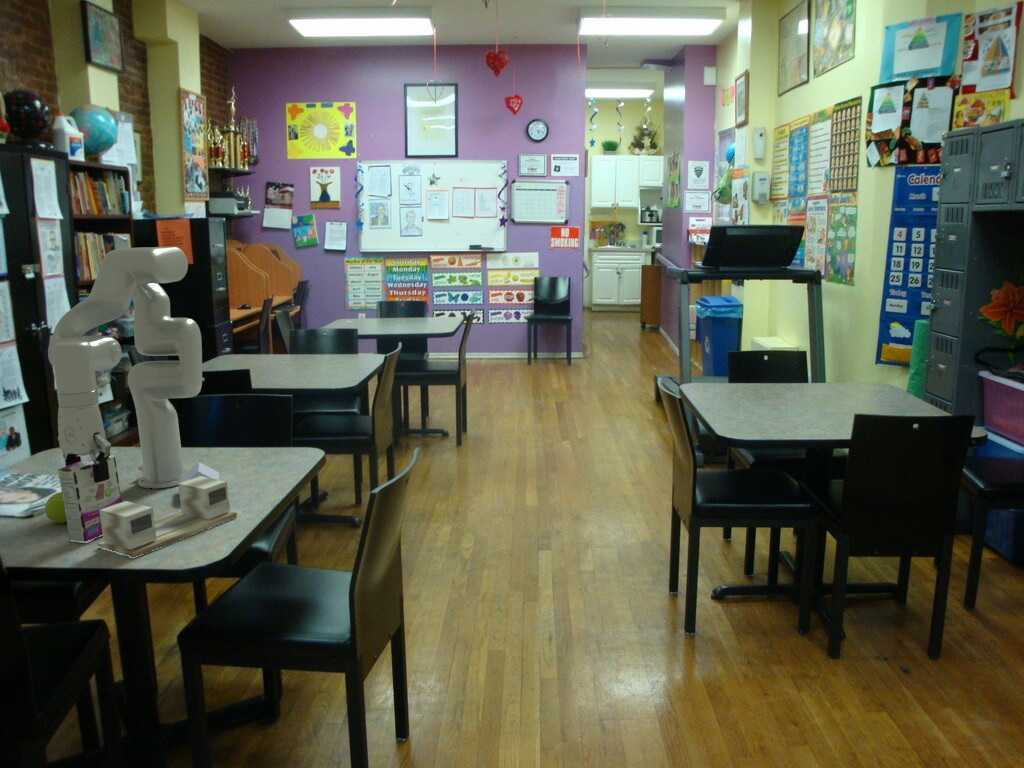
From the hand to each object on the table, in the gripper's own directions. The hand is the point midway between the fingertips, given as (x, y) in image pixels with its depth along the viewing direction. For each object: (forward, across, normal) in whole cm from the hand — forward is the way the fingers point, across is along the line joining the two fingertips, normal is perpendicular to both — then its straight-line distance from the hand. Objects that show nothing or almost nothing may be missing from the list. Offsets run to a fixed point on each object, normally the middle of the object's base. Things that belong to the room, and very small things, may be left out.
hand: (88, 478), depth 180 cm
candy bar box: (+13, 0, +1) cm, 13 cm away
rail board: (+13, +14, +9) cm, 21 cm away
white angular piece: (+12, -2, +29) cm, 31 cm away
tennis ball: (+13, -14, +2) cm, 19 cm away
